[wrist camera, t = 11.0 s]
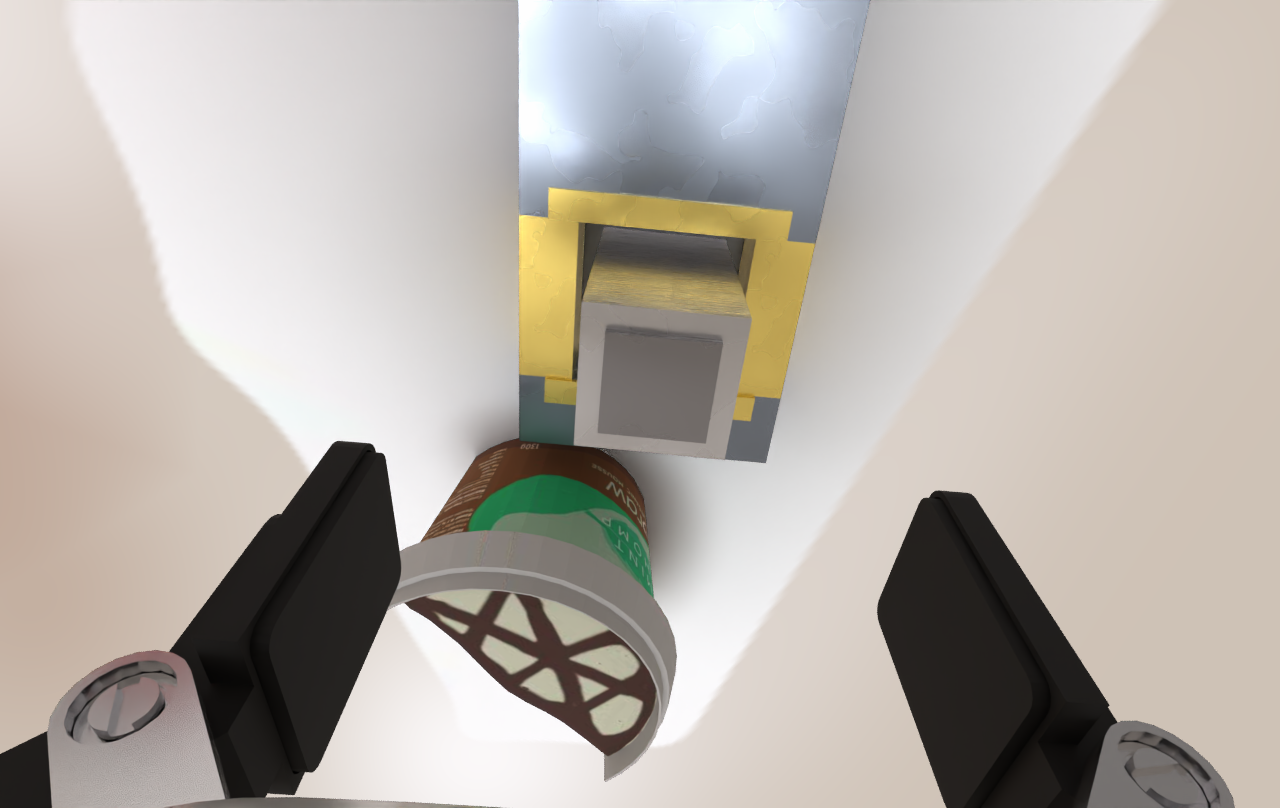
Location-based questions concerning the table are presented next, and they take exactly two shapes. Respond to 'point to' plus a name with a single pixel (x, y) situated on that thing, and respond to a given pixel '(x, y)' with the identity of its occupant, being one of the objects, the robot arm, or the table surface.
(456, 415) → the table surface
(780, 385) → the grey peg hole board
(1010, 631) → the robot arm
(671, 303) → the grey rectangular block
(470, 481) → the food container
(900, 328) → the table surface
